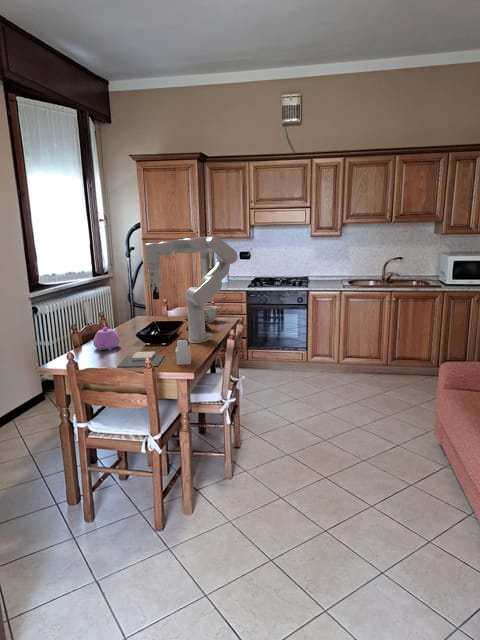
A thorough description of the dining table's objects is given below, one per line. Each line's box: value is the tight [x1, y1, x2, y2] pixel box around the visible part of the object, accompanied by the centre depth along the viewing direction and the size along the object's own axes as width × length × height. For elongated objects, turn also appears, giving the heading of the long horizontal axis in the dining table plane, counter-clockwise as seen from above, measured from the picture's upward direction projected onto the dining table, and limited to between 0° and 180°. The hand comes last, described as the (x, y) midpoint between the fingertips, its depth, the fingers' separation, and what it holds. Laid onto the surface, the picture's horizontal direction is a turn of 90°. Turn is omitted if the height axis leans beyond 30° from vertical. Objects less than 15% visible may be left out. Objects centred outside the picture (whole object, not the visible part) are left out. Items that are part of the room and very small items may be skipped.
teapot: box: [93, 326, 120, 352], centre depth 248 cm, size 20×14×12 cm
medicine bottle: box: [175, 338, 192, 366], centre depth 219 cm, size 7×7×12 cm
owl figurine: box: [183, 310, 212, 333], centre depth 283 cm, size 18×12×17 cm, turn 65°
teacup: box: [203, 305, 223, 323], centre depth 305 cm, size 12×15×10 cm
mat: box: [116, 354, 165, 368], centre depth 224 cm, size 20×17×1 cm
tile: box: [131, 351, 156, 361], centre depth 228 cm, size 10×2×10 cm
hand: (156, 299), depth 244 cm, fingers closed
